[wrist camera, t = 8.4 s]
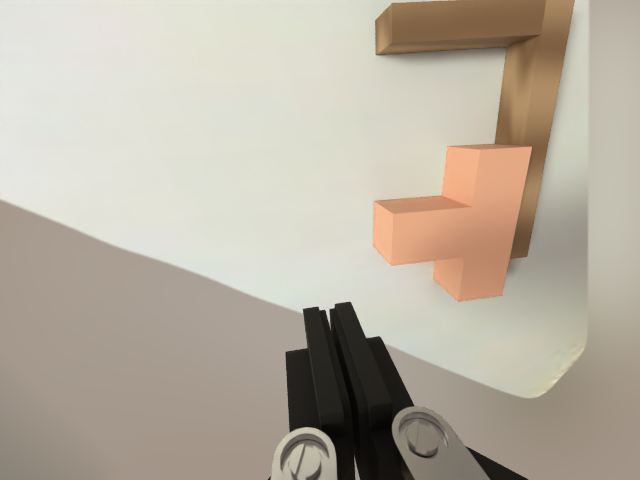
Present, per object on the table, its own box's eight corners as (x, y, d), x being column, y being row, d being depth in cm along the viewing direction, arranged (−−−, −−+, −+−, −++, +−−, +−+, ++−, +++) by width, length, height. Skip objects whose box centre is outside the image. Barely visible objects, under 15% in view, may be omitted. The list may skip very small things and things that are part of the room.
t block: (375, 150, 23) (396, 154, 19) (492, 143, 24) (532, 146, 21) (372, 286, 27) (388, 311, 24) (471, 274, 29) (502, 295, 25)
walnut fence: (375, 20, 20) (392, 3, 17) (536, 12, 21) (575, -5, 19) (378, 261, 27) (390, 277, 24) (501, 243, 28) (527, 256, 25)
